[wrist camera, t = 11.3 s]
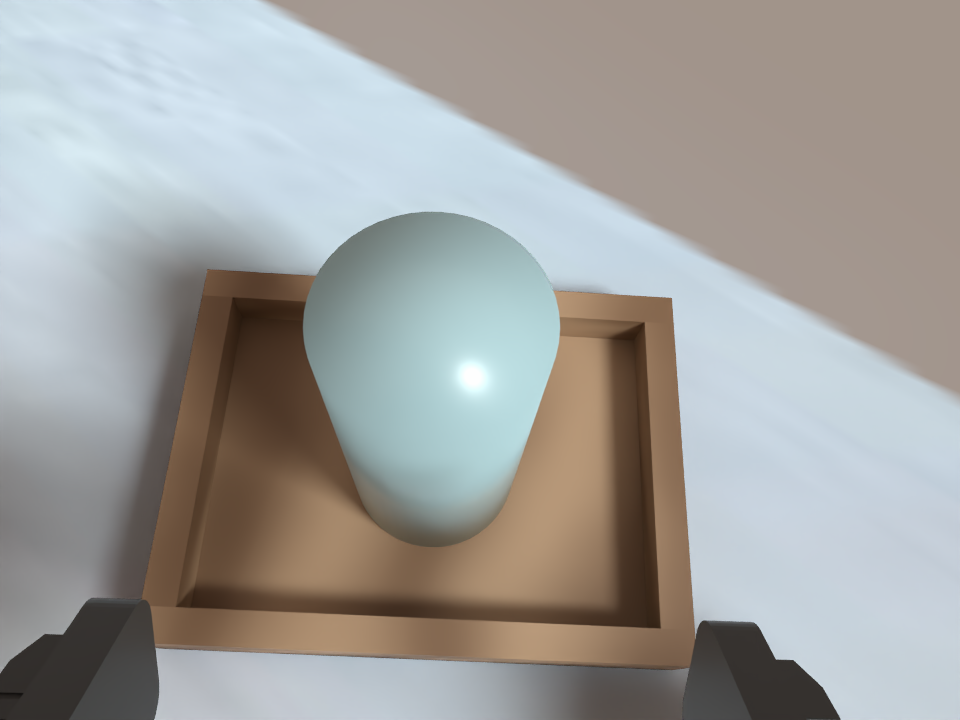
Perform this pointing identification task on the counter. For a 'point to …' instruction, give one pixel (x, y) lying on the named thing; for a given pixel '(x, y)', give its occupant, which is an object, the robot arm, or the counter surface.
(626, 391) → the tray
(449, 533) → the pale green capsule
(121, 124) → the counter surface
